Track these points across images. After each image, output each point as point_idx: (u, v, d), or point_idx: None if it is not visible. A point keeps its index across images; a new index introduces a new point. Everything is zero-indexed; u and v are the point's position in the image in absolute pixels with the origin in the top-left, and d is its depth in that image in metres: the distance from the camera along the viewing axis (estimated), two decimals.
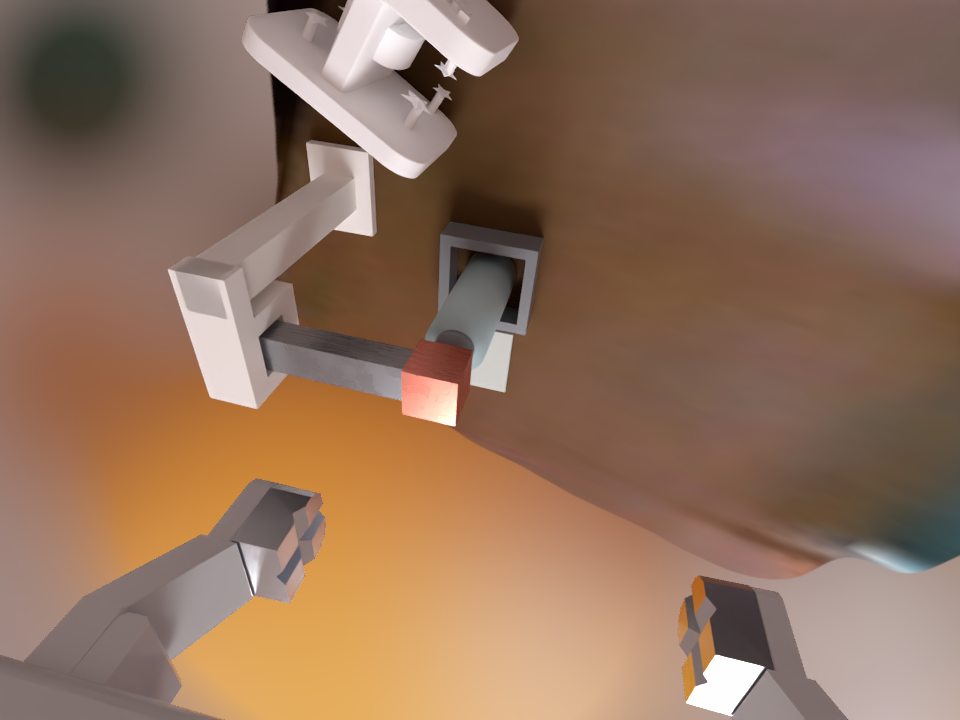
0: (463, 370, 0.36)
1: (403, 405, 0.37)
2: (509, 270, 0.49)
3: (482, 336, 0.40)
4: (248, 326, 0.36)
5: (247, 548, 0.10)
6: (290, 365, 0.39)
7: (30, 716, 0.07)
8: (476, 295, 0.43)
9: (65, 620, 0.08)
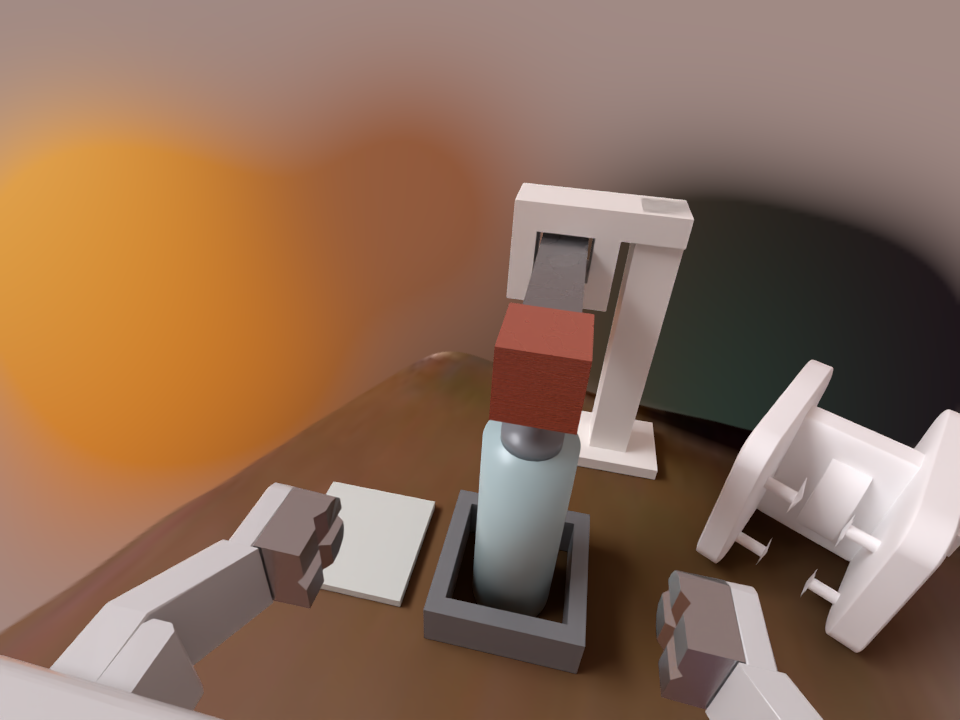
0: (584, 391, 0.22)
1: (527, 306, 0.25)
2: (532, 605, 0.31)
3: (554, 476, 0.25)
4: (619, 230, 0.33)
5: (268, 553, 0.10)
6: (554, 250, 0.33)
7: (30, 716, 0.07)
8: (566, 510, 0.28)
9: (89, 626, 0.08)
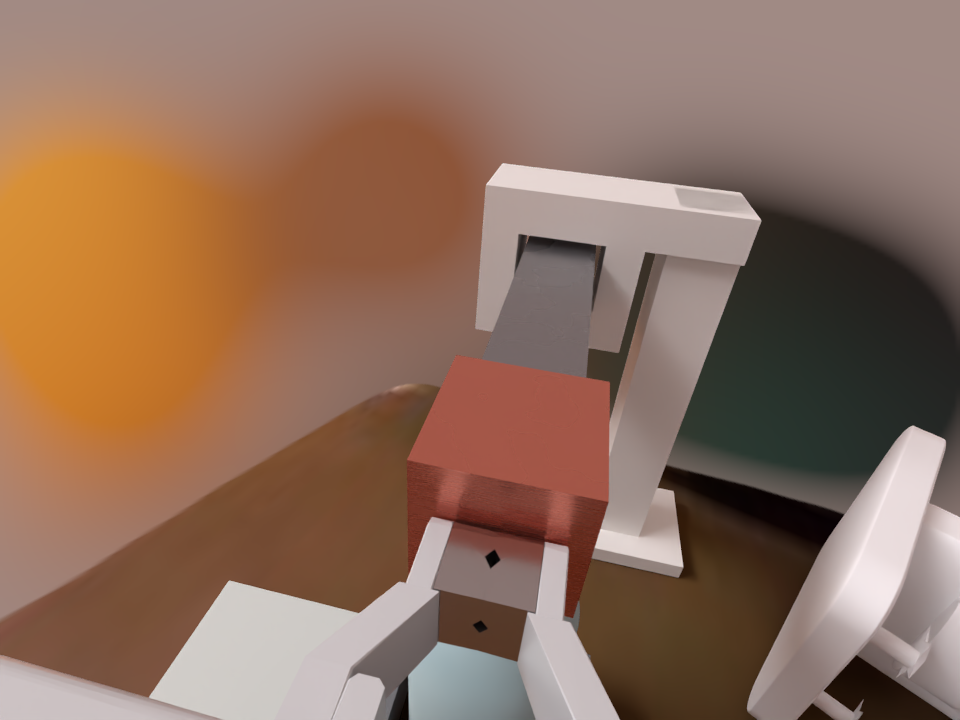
0: (590, 551, 0.11)
1: (487, 362, 0.14)
2: None
3: None
4: (643, 234, 0.22)
5: (447, 596, 0.10)
6: (544, 260, 0.21)
7: (30, 716, 0.07)
8: None
9: (295, 682, 0.08)
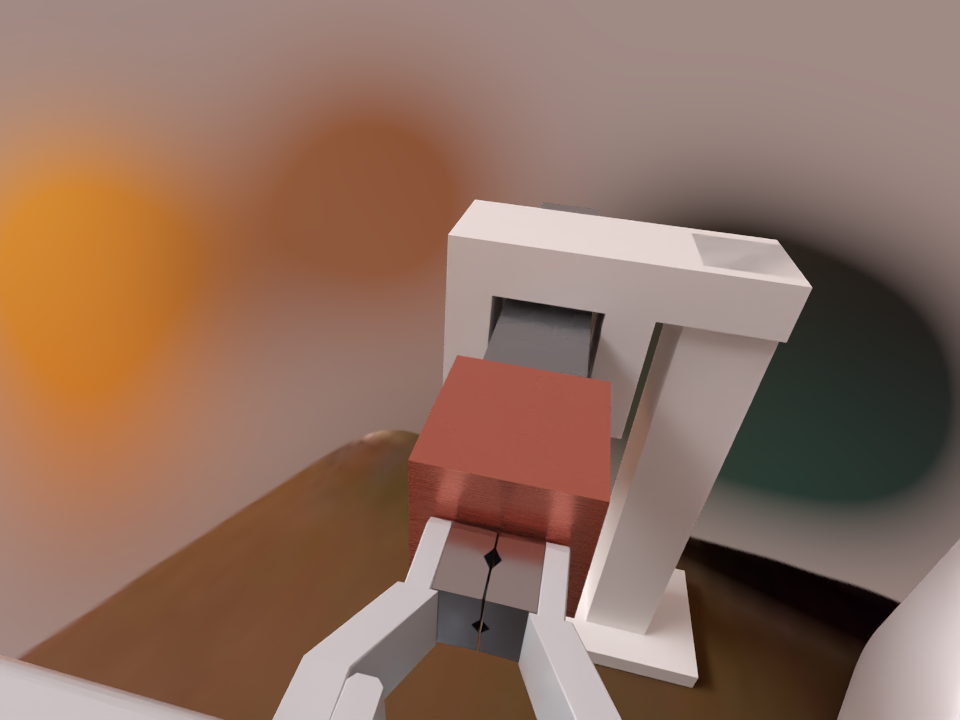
0: (591, 551, 0.11)
1: (488, 362, 0.14)
2: None
3: None
4: (653, 301, 0.16)
5: (446, 596, 0.10)
6: None
7: (30, 716, 0.07)
8: None
9: (294, 683, 0.08)
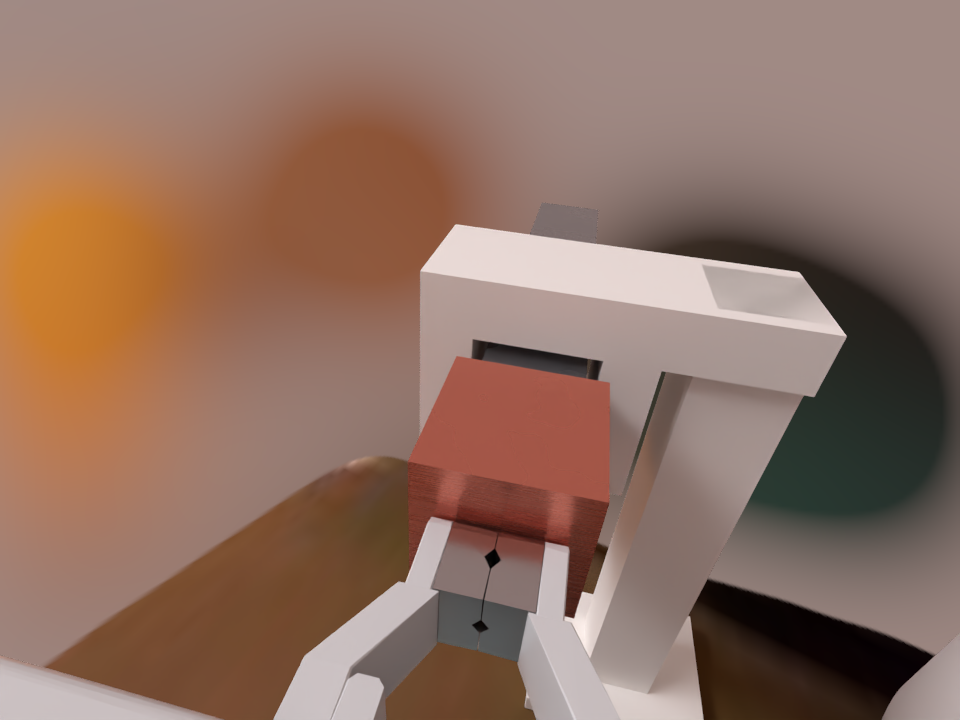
0: (591, 551, 0.11)
1: (488, 363, 0.14)
2: None
3: None
4: (659, 348, 0.14)
5: (447, 596, 0.10)
6: None
7: (30, 716, 0.07)
8: None
9: (295, 682, 0.08)
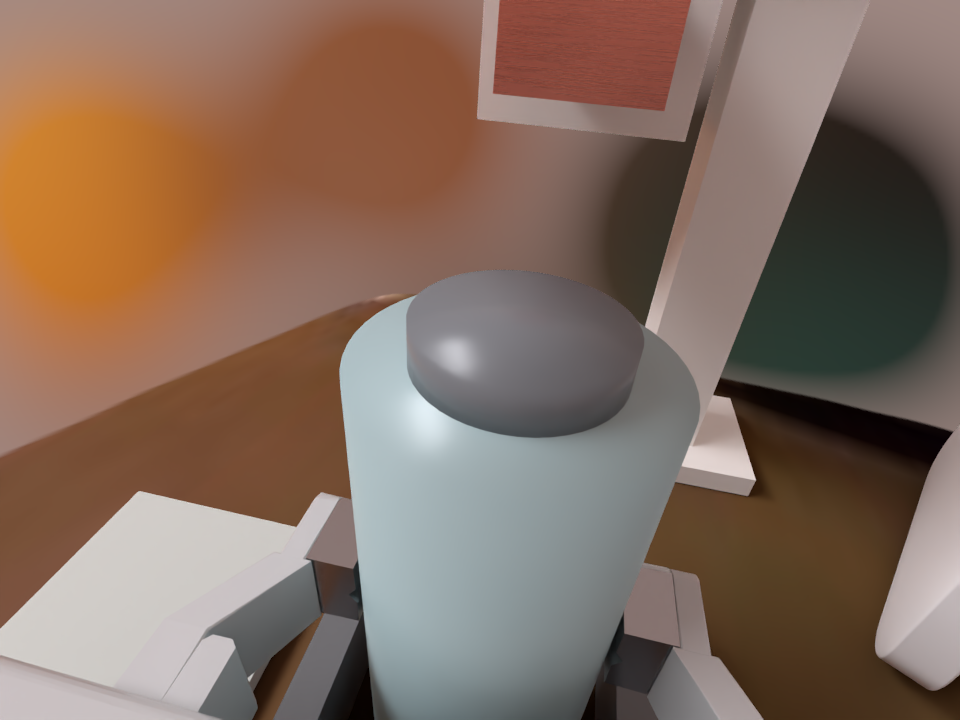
0: None
1: None
2: None
3: (612, 501, 0.06)
4: None
5: (321, 566, 0.10)
6: None
7: (30, 716, 0.07)
8: None
9: (150, 643, 0.08)
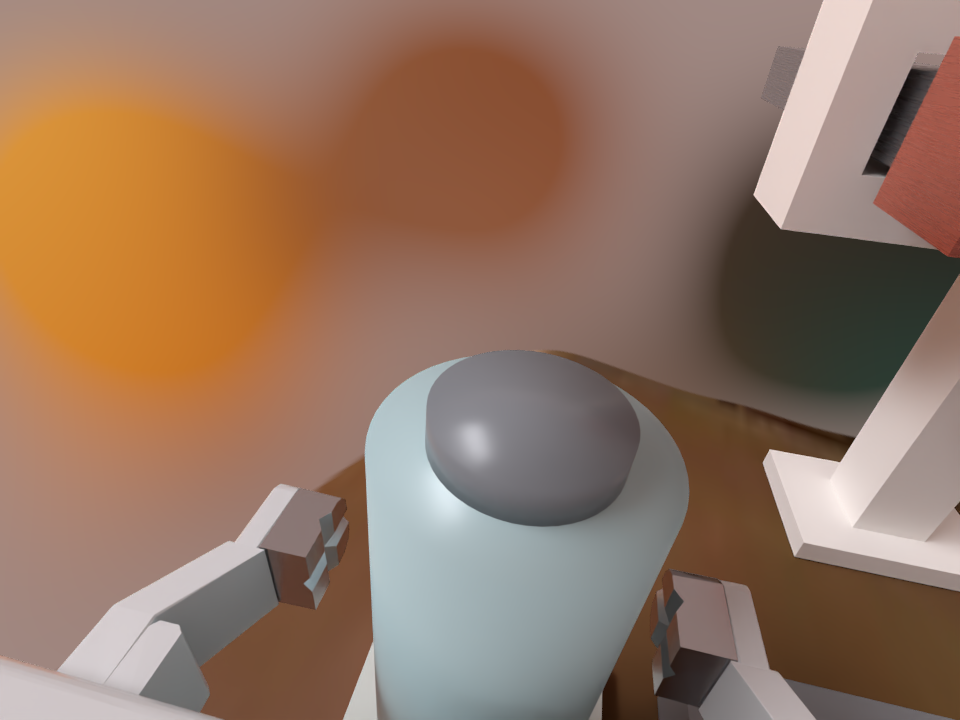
0: None
1: None
2: None
3: (609, 589, 0.07)
4: None
5: (274, 555, 0.10)
6: None
7: (30, 716, 0.07)
8: None
9: (97, 628, 0.08)
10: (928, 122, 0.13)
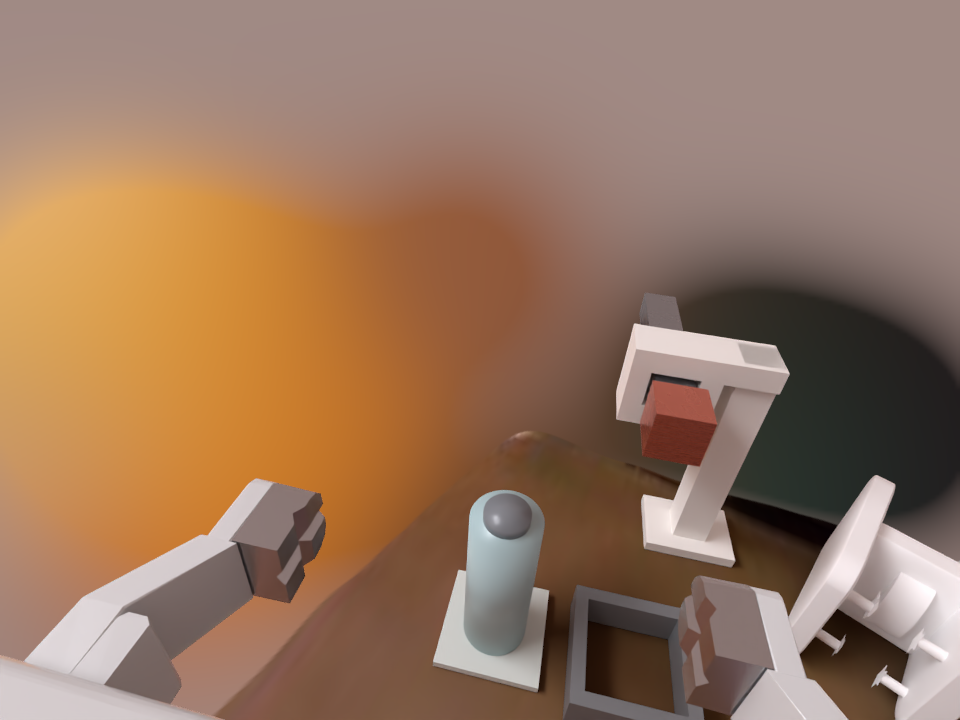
0: (709, 441, 0.36)
1: (664, 383, 0.39)
2: (510, 641, 0.39)
3: (523, 551, 0.33)
4: (723, 377, 0.39)
5: (247, 548, 0.10)
6: None
7: (30, 716, 0.07)
8: (535, 571, 0.36)
9: (65, 620, 0.08)
10: (647, 404, 0.39)
